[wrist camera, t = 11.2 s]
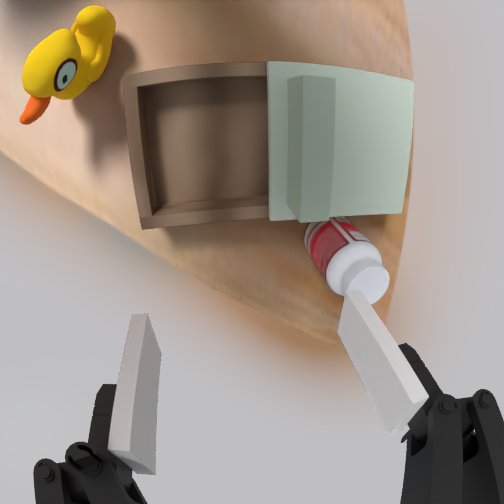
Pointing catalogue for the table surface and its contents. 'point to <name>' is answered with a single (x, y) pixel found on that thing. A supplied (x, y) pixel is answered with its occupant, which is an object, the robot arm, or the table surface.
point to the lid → (336, 141)
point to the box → (198, 143)
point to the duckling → (68, 60)
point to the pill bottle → (346, 258)
